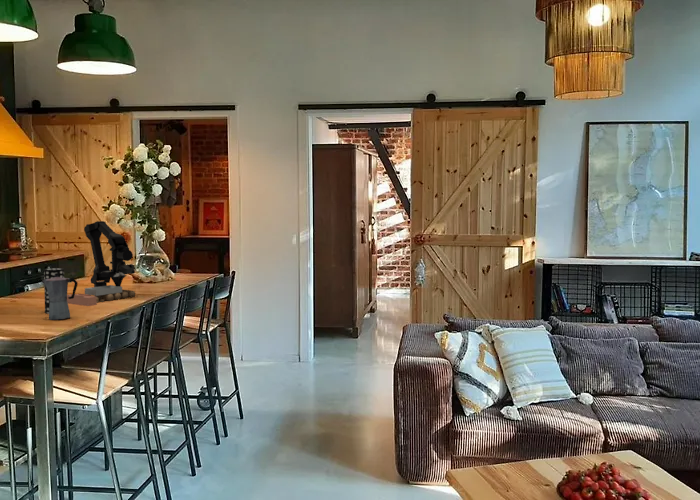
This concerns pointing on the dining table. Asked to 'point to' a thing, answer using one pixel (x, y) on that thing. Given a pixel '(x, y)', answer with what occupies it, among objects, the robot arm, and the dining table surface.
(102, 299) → the roller bed
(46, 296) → the white-spotted black cylinder
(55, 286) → the moka pot
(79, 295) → the stop beam
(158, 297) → the dining table surface
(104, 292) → the slab
